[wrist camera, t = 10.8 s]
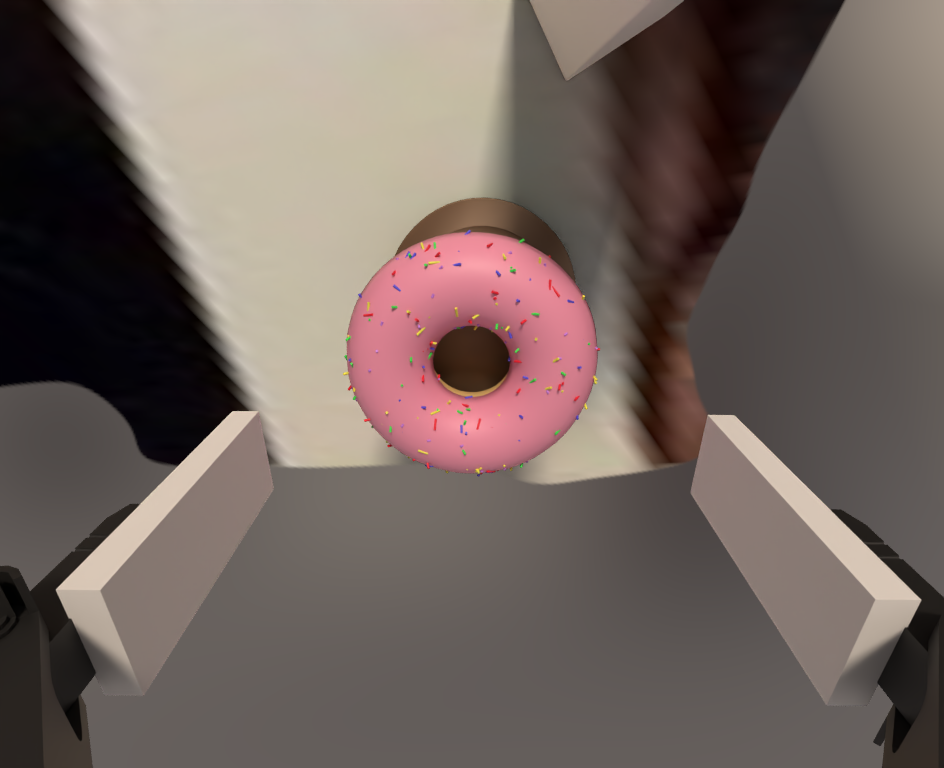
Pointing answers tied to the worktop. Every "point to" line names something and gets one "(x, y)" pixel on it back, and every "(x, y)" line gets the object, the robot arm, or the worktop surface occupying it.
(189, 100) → the worktop surface
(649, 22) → the milk
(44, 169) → the worktop surface
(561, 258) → the brown flanged cylinder
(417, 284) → the doughnut
